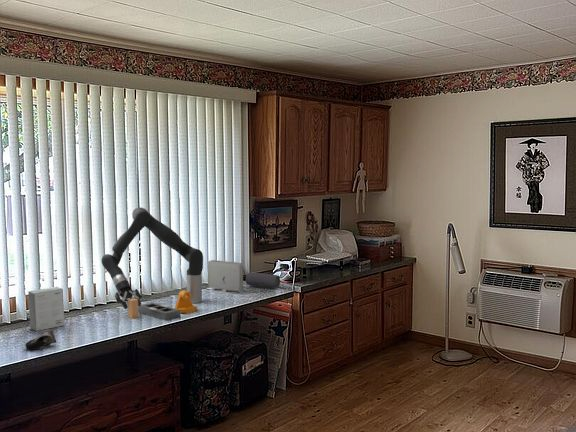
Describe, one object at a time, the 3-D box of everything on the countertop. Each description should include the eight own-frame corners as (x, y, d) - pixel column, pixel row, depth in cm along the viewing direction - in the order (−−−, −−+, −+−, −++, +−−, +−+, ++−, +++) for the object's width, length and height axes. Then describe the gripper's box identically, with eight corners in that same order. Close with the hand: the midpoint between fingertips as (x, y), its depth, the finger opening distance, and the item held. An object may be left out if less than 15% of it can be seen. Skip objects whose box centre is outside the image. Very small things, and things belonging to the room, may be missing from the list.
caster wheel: (24, 355, 276) (35, 345, 286) (47, 351, 274) (57, 342, 284) (20, 342, 275) (31, 333, 284) (42, 338, 273) (53, 329, 283)
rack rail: (138, 312, 345) (138, 304, 344) (152, 309, 352) (152, 301, 351) (165, 320, 327) (165, 312, 327) (180, 317, 334) (180, 309, 334)
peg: (134, 315, 337) (133, 298, 336) (138, 317, 334) (138, 299, 333) (128, 317, 334) (127, 299, 333) (132, 318, 331) (131, 300, 330)
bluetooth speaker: (280, 288, 412) (280, 273, 411) (274, 290, 403) (274, 276, 402) (251, 285, 421) (251, 271, 420) (245, 287, 412) (245, 273, 411)
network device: (206, 290, 402) (205, 261, 400) (213, 288, 410) (213, 259, 408) (238, 294, 390) (238, 264, 388) (245, 292, 398) (245, 262, 396)
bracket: (182, 314, 341) (181, 293, 339) (175, 312, 346) (174, 291, 345) (197, 311, 348) (197, 290, 347) (190, 308, 353) (190, 288, 352)
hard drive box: (58, 322, 322) (57, 286, 320) (64, 325, 316) (63, 288, 314) (29, 328, 311) (28, 290, 309) (35, 331, 306) (33, 293, 304)
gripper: (112, 281, 333) (124, 305, 326) (134, 277, 343) (146, 300, 336) (107, 289, 337) (119, 313, 330) (129, 285, 347) (141, 308, 340)
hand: (133, 306), depth 333 cm, fingers open, 8 cm apart
